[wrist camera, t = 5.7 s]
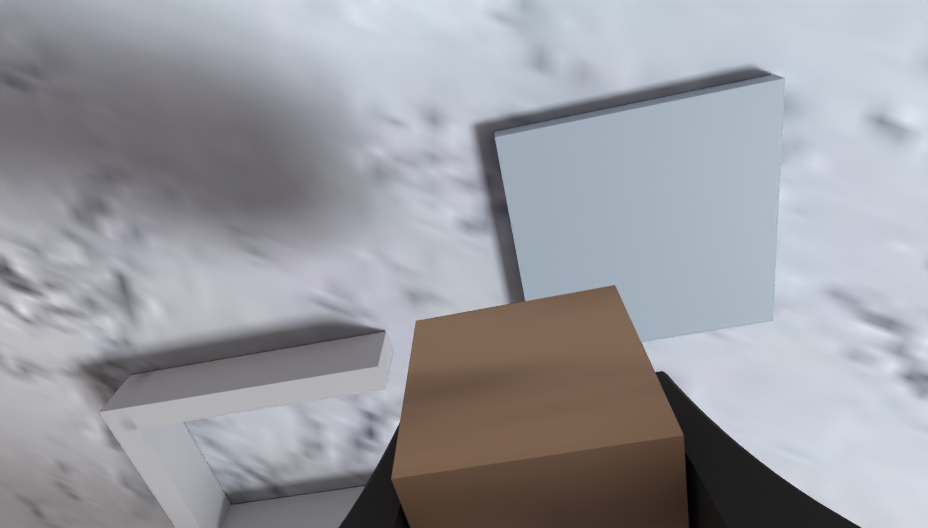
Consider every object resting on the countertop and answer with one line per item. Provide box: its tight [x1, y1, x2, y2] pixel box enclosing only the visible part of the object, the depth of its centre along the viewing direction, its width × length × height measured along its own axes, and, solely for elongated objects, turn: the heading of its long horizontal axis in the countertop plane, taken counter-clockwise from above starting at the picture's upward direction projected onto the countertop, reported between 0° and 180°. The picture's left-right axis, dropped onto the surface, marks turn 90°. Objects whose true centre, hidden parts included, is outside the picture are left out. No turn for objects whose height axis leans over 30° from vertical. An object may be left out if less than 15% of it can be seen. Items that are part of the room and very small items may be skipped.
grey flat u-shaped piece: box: [99, 331, 393, 528], centre depth 27 cm, size 10×12×2 cm
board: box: [494, 74, 785, 342], centre depth 22 cm, size 10×10×1 cm
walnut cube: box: [391, 285, 689, 528], centre depth 13 cm, size 5×5×5 cm
